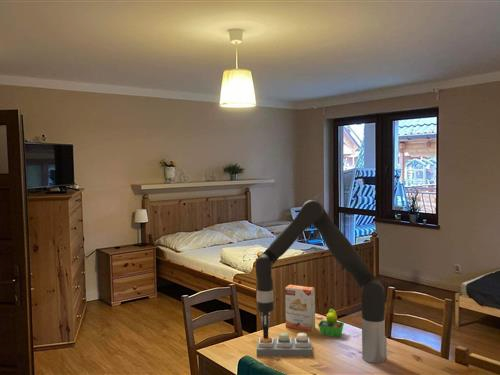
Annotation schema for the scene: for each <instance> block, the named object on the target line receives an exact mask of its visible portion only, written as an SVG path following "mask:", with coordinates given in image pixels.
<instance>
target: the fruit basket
mask: <svg viewBox="0 0 500 375" xmlns="http://www.w3.org/2000/svg"><path fill="white" fill-rule="evenodd" d="M325 317H326V320H324V319H323V320H320V322H319V323H318V327H319V331H320V335H321V336H327V337H336V338H340V336H341V335H342V332H343V328H344V325H345V322H343V321H338V316H337V312H336V310H335V309H333V308H330V309H329V311H328V312H327V314H326V316H325Z"/></svg>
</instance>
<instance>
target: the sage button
mask: <svg viewBox="0 0 500 375" xmlns="http://www.w3.org/2000/svg"><path fill="white" fill-rule="evenodd" d="M278 338H279V340H281V341H287V340H289V338H290V334H289V333H287V332H280V333H279V334H278Z"/></svg>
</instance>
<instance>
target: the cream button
mask: <svg viewBox="0 0 500 375" xmlns="http://www.w3.org/2000/svg"><path fill="white" fill-rule="evenodd" d="M296 338H297V340H299V341H306V340H307V338H308V334H307V333H306V332H298V333H297V334H296Z"/></svg>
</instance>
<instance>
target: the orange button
mask: <svg viewBox="0 0 500 375" xmlns="http://www.w3.org/2000/svg"><path fill="white" fill-rule="evenodd" d="M260 338H261V343H271V338H272V337H271V336H270V335H268V338H263V336H261V337H260Z"/></svg>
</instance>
